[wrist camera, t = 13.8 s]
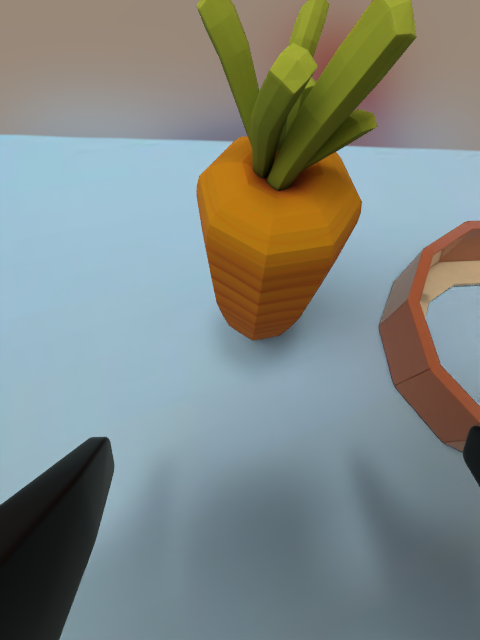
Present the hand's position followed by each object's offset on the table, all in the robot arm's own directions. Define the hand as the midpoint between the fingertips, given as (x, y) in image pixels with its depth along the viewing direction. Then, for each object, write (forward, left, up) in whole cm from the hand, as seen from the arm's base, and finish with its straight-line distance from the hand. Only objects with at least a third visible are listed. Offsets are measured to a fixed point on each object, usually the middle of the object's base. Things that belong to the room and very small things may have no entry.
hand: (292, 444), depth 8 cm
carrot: (+7, 0, -9) cm, 11 cm away
